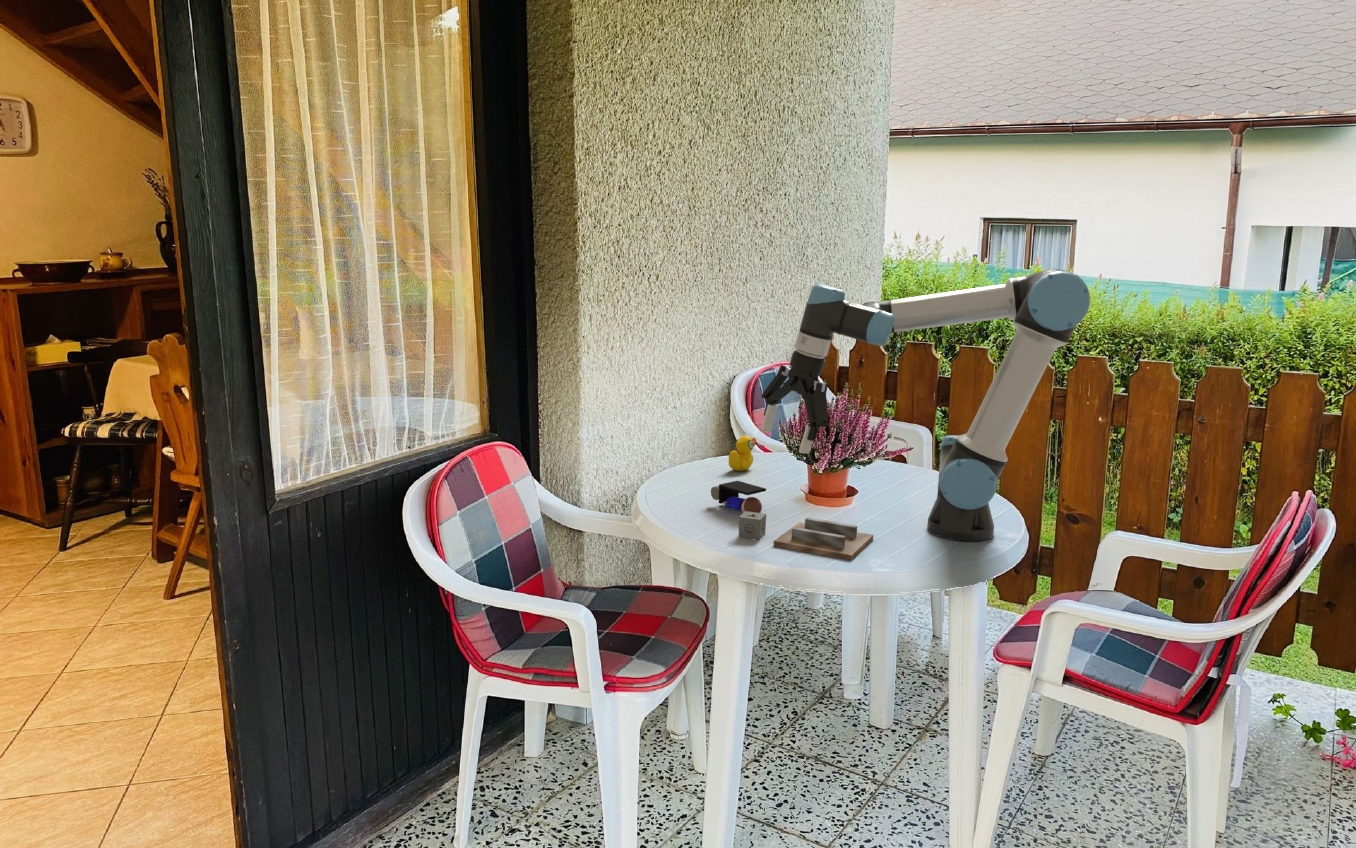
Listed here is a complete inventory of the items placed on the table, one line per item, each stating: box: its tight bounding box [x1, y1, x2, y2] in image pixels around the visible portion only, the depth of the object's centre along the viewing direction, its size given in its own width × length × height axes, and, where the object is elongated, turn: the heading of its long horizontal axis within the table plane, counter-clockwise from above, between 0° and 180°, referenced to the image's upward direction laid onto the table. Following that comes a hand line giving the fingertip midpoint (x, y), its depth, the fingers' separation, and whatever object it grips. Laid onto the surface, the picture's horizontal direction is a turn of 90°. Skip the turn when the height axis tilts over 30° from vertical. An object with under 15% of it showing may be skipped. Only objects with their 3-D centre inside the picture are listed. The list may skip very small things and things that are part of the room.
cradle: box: [773, 517, 874, 561], centre depth 212 cm, size 18×16×4 cm
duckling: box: [728, 435, 757, 472], centre depth 274 cm, size 11×5×10 cm, turn 139°
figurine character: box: [710, 480, 767, 514], centre depth 234 cm, size 7×8×15 cm
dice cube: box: [738, 511, 767, 541], centre depth 216 cm, size 5×5×5 cm
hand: (784, 441), depth 216 cm, fingers open, 13 cm apart
